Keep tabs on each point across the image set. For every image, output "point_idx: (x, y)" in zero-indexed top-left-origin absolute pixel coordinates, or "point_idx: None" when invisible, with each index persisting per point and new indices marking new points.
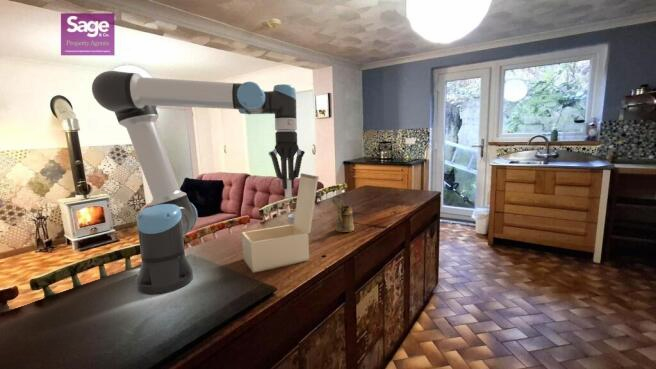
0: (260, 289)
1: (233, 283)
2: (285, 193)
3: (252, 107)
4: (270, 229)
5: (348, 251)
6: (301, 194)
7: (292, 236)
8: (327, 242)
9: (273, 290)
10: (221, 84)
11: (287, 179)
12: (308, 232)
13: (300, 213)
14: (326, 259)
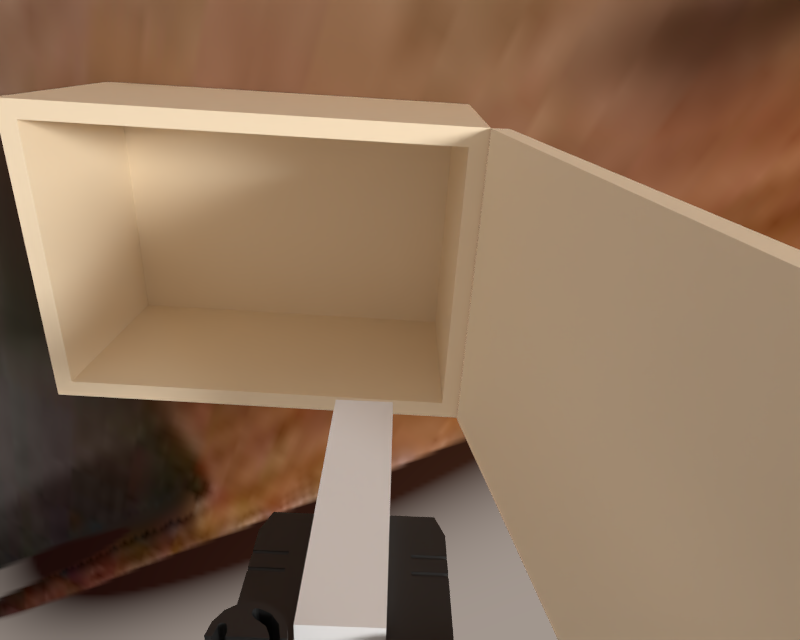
0: (149, 463)
1: (46, 364)
2: (329, 448)
3: None
4: (256, 132)
5: None
6: (629, 351)
7: None
8: (729, 121)
9: (193, 492)
10: None
11: (358, 633)
12: (459, 420)
13: (518, 298)
14: None
